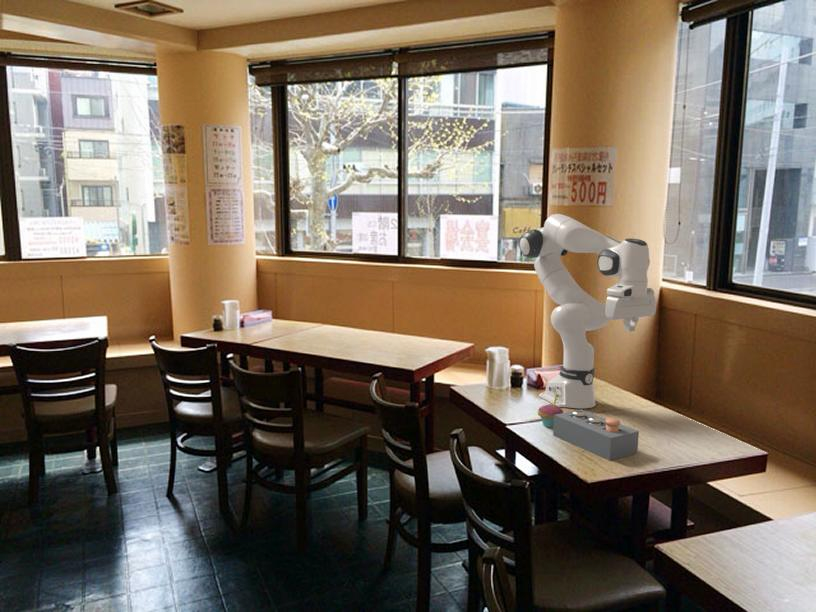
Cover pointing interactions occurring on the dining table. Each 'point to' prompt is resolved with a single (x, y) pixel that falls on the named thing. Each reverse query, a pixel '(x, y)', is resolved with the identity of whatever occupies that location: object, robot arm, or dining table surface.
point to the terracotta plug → (612, 425)
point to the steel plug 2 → (595, 420)
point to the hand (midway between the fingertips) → (629, 331)
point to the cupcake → (549, 413)
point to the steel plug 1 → (578, 414)
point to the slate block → (596, 436)
